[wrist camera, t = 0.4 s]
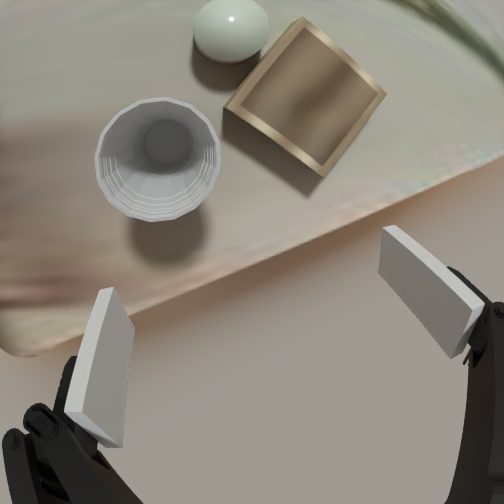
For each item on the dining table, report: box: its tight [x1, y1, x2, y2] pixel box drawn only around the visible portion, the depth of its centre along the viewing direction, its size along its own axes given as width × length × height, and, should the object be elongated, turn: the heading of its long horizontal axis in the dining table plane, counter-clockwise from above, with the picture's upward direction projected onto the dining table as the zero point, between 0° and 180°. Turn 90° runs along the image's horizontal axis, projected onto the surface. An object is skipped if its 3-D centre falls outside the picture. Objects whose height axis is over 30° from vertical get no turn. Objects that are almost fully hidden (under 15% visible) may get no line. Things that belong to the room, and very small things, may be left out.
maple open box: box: [224, 16, 387, 178], centre depth 30 cm, size 14×14×4 cm
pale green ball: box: [194, 0, 270, 64], centre depth 25 cm, size 8×8×4 cm
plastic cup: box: [94, 97, 221, 222], centre depth 27 cm, size 11×11×12 cm
